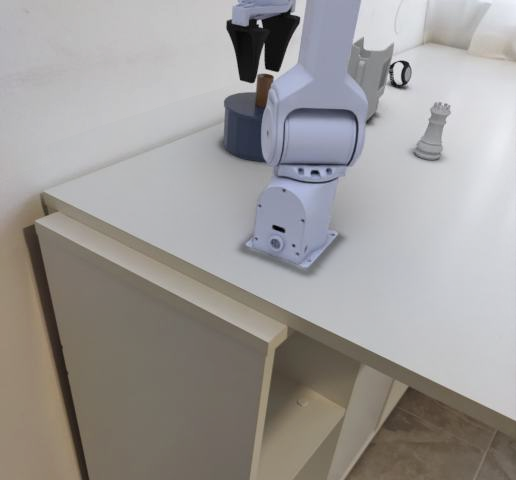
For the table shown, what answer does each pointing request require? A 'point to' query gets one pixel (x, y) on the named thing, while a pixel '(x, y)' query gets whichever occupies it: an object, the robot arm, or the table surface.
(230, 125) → the tin
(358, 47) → the cable organizer
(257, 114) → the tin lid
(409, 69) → the smartwatch
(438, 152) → the rook chess piece
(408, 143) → the table surface
